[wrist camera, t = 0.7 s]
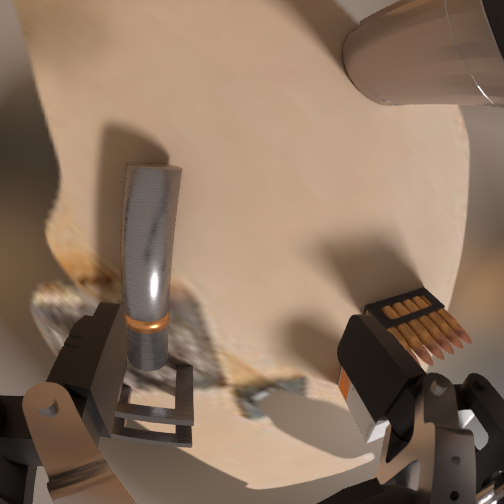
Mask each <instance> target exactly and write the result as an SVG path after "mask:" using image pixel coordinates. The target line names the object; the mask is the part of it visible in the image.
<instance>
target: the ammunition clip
mask: <svg viewBox="0 0 504 504" xmlns="http://www.w3.org/2000/svg"><path fill="white" fill-rule="evenodd" d="M444 307H445V306H444V305H443V304H442V303H441V302H440V301H439V300H438V299H437V298H435V297H434V296H433V295H432V294H431V293H430V292H429V291H428V290H427V289H426V288H421V289H418V290H415V291H411V292H408V293H405V294H402V295H399V296H395V297H392V298H389V299H385V300H382V301H379V302H375V303H372V304H368V305H365V310H364V314H371V315H373V316H374V317H375V318H376V319H377V320H378V322H379V323H380V324H381V325H382V326H383V327H384V328H385V329H387V330H388V331H389V332H391V333H392V334H393V335H394V336H395V337H396V338H397V340H398V341H399V343H401V344H402V345H403V347H404V348H405V350H407V351H408V352H409V353H410V355H411V356H412V357H413V358H414V359H415V360H416V362H417V363H418V364H419V365H420V363H419V361H418V359H417V358H416V356H415V355H414V353H413V352H412V350H413V351H414V352H415V353H416V354H417V355H418V356H419V358H420V359H422V360H423V361H424V362H425V363H427V364H428V365H431V366H433V361H432V358H431V356H430V354H429V353H428V351H427V350H426V348H427V349H428V350H429V351H430V352H431V353H432V354H433V355H435V356H436V357H438V358H439V359H441V360H444V355H443V353H442V351H441V349H440V348H439V346H440V347H441V348H442V349H444V350H445V351H446V352H448V353H450V354H454V351H453V348H452V346H451V344H450V343H449V342H451V343H452V344H453V345H454V346H456V347H458V348H460V349H463V345H462V343H461V341H460V339H462V340H463V341H464V342H466V343H469V344H471V343H472V342H471V339H470V337H469V335H468V334H467V333H466V331H465V330H464V329H463V328H462V327H461V326H460V325H459V324H458V323H457V321H456V320H455V318H453V316H451V315H450V314H449V313H448V312H447V311H446V310H445V309H444ZM458 337H459V338H460V339H459V338H458ZM437 344H438V345H439V346H438V345H437ZM423 345H424V346H425V347H426V348H425V347H424V346H423ZM410 348H411V349H412V350H411V349H410Z"/></svg>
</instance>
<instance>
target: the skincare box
mask: <svg viewBox="0 0 504 504" xmlns="http://www.w3.org/2000/svg"><path fill="white" fill-rule="evenodd" d="M338 387H339V389H340V391H341V393H342V395H343V397H344V399H345V401H346V403H347V405H348V408H349V410H350V412H351V414H352V416H353V418H354V420H355V422H356V424H357V426H358V428H359V430H360V432H361V434H362V436H363V438H364V440H365V442H366V443H369V442H371V441H374V440H376V439H378V438H381V437H383V436H385V430H386V427H387V426H388V425H389V423H390V422H389V421H388V420H386V421H383V422H380V423H377V424H375V422H374V420H373V419H372V417H371V415H370V413H369V412H368V410H367V408H366V406H365V405H364V403H363V401H362V400H361V398H360V396H359V394H358V393H357V391H356V389H355V388H354V386H353V384H352V383H351V381H350V379H349V377H348V376H347V374H346V372H345V371H344V369H343V367H342V366H341V373H340V378H339V383H338Z"/></svg>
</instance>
